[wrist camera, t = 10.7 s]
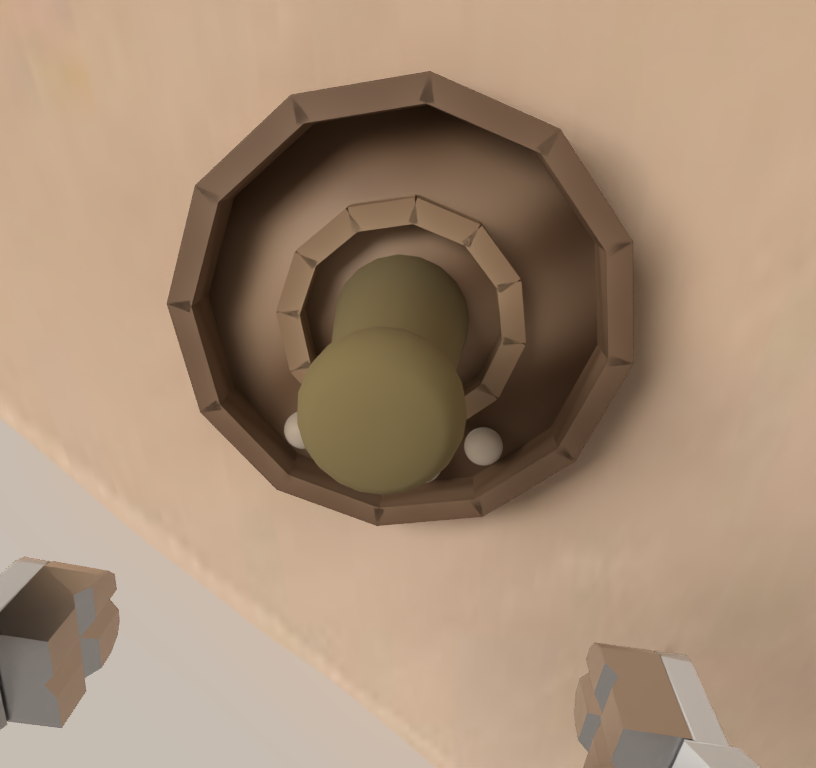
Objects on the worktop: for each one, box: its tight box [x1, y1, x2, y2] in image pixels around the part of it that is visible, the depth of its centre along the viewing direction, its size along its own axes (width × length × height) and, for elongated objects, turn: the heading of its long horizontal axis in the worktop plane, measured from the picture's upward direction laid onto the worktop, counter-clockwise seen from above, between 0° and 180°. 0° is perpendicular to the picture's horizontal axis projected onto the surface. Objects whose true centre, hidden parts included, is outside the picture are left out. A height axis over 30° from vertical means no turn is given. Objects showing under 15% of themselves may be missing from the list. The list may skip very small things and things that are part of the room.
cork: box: [297, 254, 469, 495], centre depth 22 cm, size 6×6×11 cm
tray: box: [167, 71, 633, 526], centre depth 27 cm, size 19×19×3 cm
